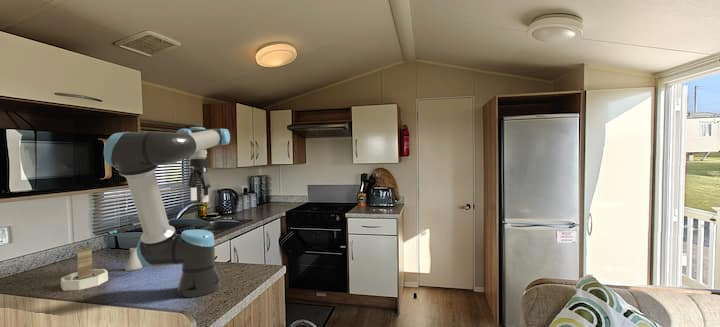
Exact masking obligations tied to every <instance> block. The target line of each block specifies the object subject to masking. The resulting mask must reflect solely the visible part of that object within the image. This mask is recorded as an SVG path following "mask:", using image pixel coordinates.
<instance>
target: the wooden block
mask: <svg viewBox="0 0 720 327" xmlns="http://www.w3.org/2000/svg"><path fill="white" fill-rule="evenodd" d="M76 263H77V267H76V268H77V272H78V279H79V278H83V277H88V276H92V269H93V248H92V247H87V248H81V249H76Z"/></svg>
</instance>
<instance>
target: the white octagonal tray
mask: <svg viewBox="0 0 720 327" xmlns="http://www.w3.org/2000/svg"><path fill="white" fill-rule="evenodd" d="M108 281H109V272H108V270H107V269H105V268H92V276H88V277H83V278H79V279H78V271H77V272H72V273H69V274H67V275H65V276H62V277H60V288H61V290H62V291H63V292H64V291H65V292H66V291H69V292H70V291H81V290H85V289H88V288H93V287H98V286H100V285H102V284H103V283H107V282H108Z"/></svg>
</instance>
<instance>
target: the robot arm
mask: <svg viewBox="0 0 720 327" xmlns="http://www.w3.org/2000/svg"><path fill="white" fill-rule="evenodd" d="M230 142H231V134H230V131H229V129H227V128H205V127H201V126H192V127H191V126H190V127H189V128H181V129H178V130H177V131H176V132H170V131H125V132H124V131H123V132H116V133H113V134H111V135H110V136H109V137H108V138H107V139H106V141H105V144H104V147H103V158H104V160H105V162H106V164H107V165H109V166H111V167H113V168H115V167H116V168H117V172H118V174H119V175H120V176H121V177H124V178H125V179H126V182H127V184H128V189H129V191H130V194H131V198H132V201H133V204H134V207H135V210H136V213H137V217H138V220H139V223H140V226H141V229H142V232H143V233H142V234H141V235H140V239H139V240H138V242H137V244H136V248H137V256H138V259H139V260H140V262H141V264H142V265H144V266H145V265H146V266H153V267H154V266H155V267H158V266H169V265H170V266H172V265H175V266H176V265H181V276H180V278H179V283H178V286H177V295H178V296H180V297H182V298H195V297H200V296H201V297H202V296H204V295H208V294H211V293H215V291H217V290H219V289H220V287H221V280H220V277H219V274H218V272H217V270H216V260H215V256H216V255H215V253H216V252H215V250H216V249H215V248H216V247H215V245H216V243H215V242H216V241H215V235H214V233H213V232H212V231H210V230H207V229H197V228H195V229H185V230H184V231H182V232H181V234H180V233H178V234H177V231H176V228H175V227H174V226H172V225H170V223H169V218H168V215H167V213H166V208H165V205H164V201H163V199H162V198H163V197H162V193H161V191H160V186H159V183H158V180H157V176H156V172H155V171H156V170H157V169H158V167H159V166H163V165H168V164H173V163H176V162H179V161H181V160H182V161H183V160H185V159H188V158H189V166H190V167H191V168H190V169H189V170H190V171H189V172H190V174H189V180H188V185H187V186H188V187H189V188H190V201H191V202H192V201H198V196H197V195H198V194H197V193H198V191H197V188H198V186H197V183H198V180H199V182H200V184H201V186H202V187H201V202H202V203H208V202H209V201H210V200H209V199H210V198H209V197H210V196H209V188H212V186H211V181H210V176H209V173H208V168H207V166H208V160H207V154H208V152H207V149H210V148H213V147H217V146H225V145H226V146H227V145H229V144H230Z"/></svg>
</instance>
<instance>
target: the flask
mask: <svg viewBox="0 0 720 327" xmlns="http://www.w3.org/2000/svg"><path fill="white" fill-rule="evenodd" d="M137 249H138V248H137V247H132V248H131V247H130V248H129V258H128V261H127V263H126V265H125V268H124V271H125V272H131V271H137V270H138V271H139V270H140V269H143V263H141V262H140V260H139V259H138V256H137Z"/></svg>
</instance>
